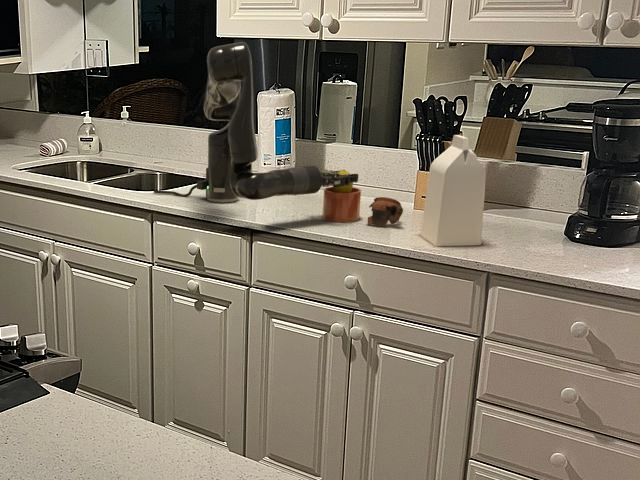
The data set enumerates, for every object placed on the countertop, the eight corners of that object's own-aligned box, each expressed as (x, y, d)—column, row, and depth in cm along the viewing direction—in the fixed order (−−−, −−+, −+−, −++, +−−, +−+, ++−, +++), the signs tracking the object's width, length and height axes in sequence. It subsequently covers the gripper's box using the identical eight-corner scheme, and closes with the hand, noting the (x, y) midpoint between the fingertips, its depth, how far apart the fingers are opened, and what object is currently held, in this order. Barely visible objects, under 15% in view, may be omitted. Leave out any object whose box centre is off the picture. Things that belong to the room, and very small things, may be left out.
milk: (420, 234, 245) (429, 133, 235) (462, 233, 245) (474, 133, 236) (436, 246, 234) (446, 140, 224) (480, 245, 234) (493, 139, 225)
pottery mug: (357, 224, 258) (364, 196, 259) (381, 236, 263) (388, 208, 264) (387, 221, 248) (395, 192, 248) (412, 233, 252) (420, 205, 253)
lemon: (351, 200, 259) (353, 171, 256) (331, 199, 260) (333, 170, 257) (351, 196, 264) (354, 168, 261) (332, 195, 265) (334, 167, 262)
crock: (314, 217, 265) (316, 189, 262) (340, 212, 271) (341, 185, 268) (341, 223, 257) (343, 194, 255) (366, 218, 263) (368, 190, 260)
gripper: (316, 170, 247) (368, 166, 254) (286, 163, 259) (336, 158, 266) (315, 199, 249) (366, 193, 256) (285, 190, 261) (334, 185, 268)
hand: (350, 176), depth 261 cm, fingers closed on lemon, 5 cm apart
